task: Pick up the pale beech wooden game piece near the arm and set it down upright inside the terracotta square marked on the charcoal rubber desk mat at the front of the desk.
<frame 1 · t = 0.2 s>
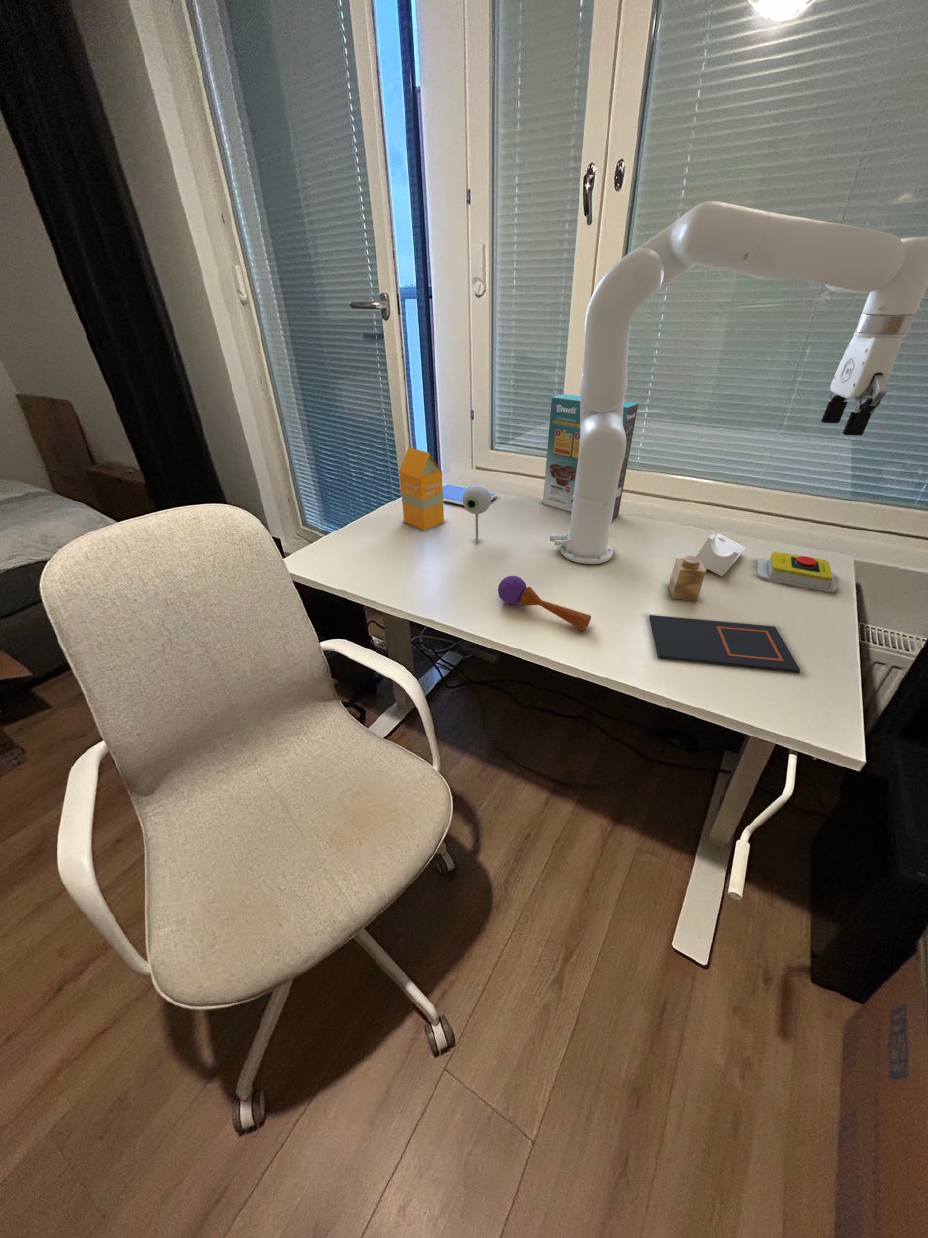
hand: (840, 428, 94), 31 cm above the table, tool pointing down, fingers open, 9 cm apart
desk mat: (718, 642, 89), on the table
tablet: (461, 498, 151), on the table
kendama: (540, 614, 98), on the table
piece: (682, 593, 103), on the table
orange juice: (424, 522, 136), on the table
emergency button: (793, 576, 109), on the table
bracket: (718, 563, 114), on the table
eyeball on stand: (476, 542, 126), on the table
cake mix box: (579, 510, 142), on the table
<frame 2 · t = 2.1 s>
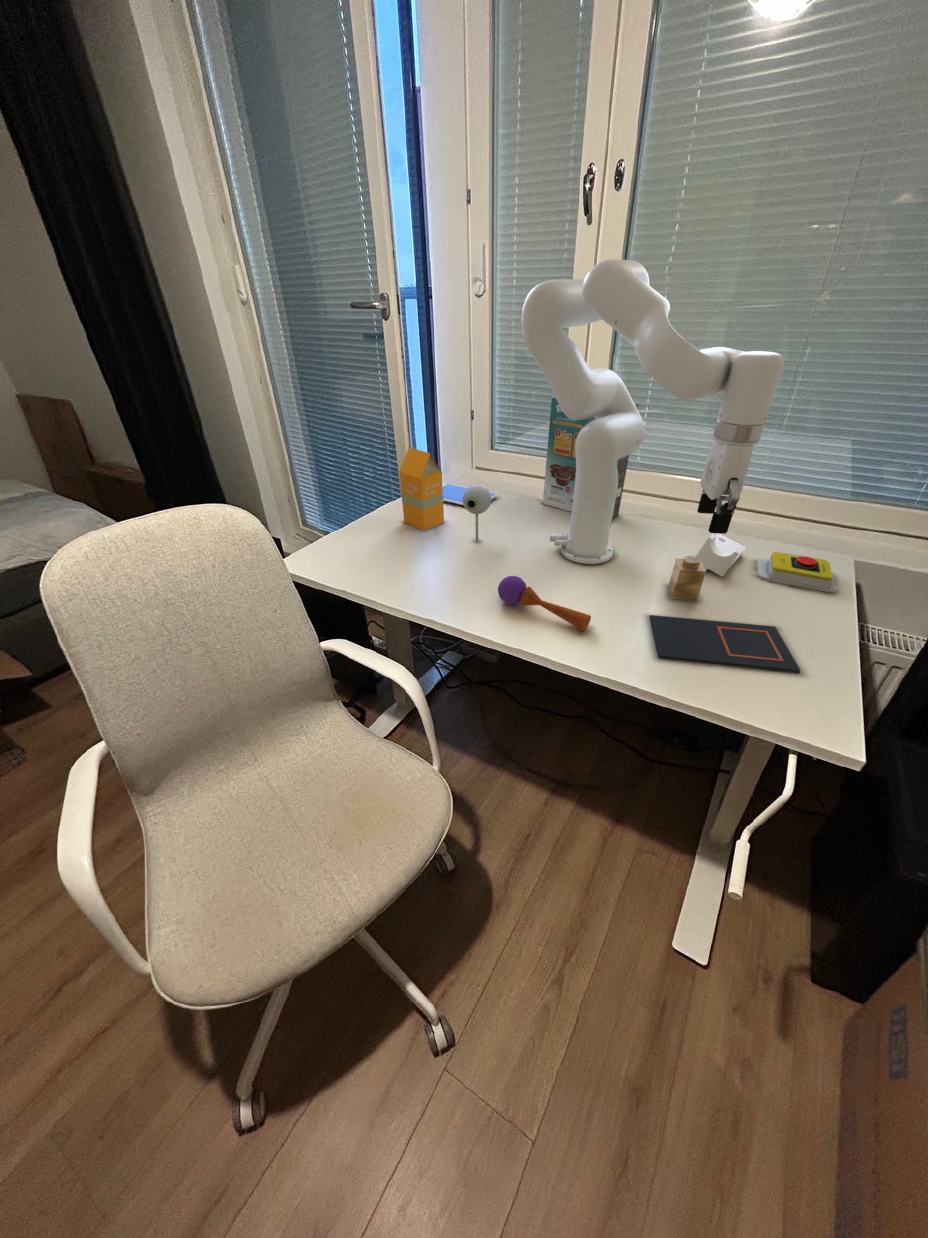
hand: (711, 522, 94), 16 cm above the table, tool pointing down, fingers open, 9 cm apart
nothing on the table moved.
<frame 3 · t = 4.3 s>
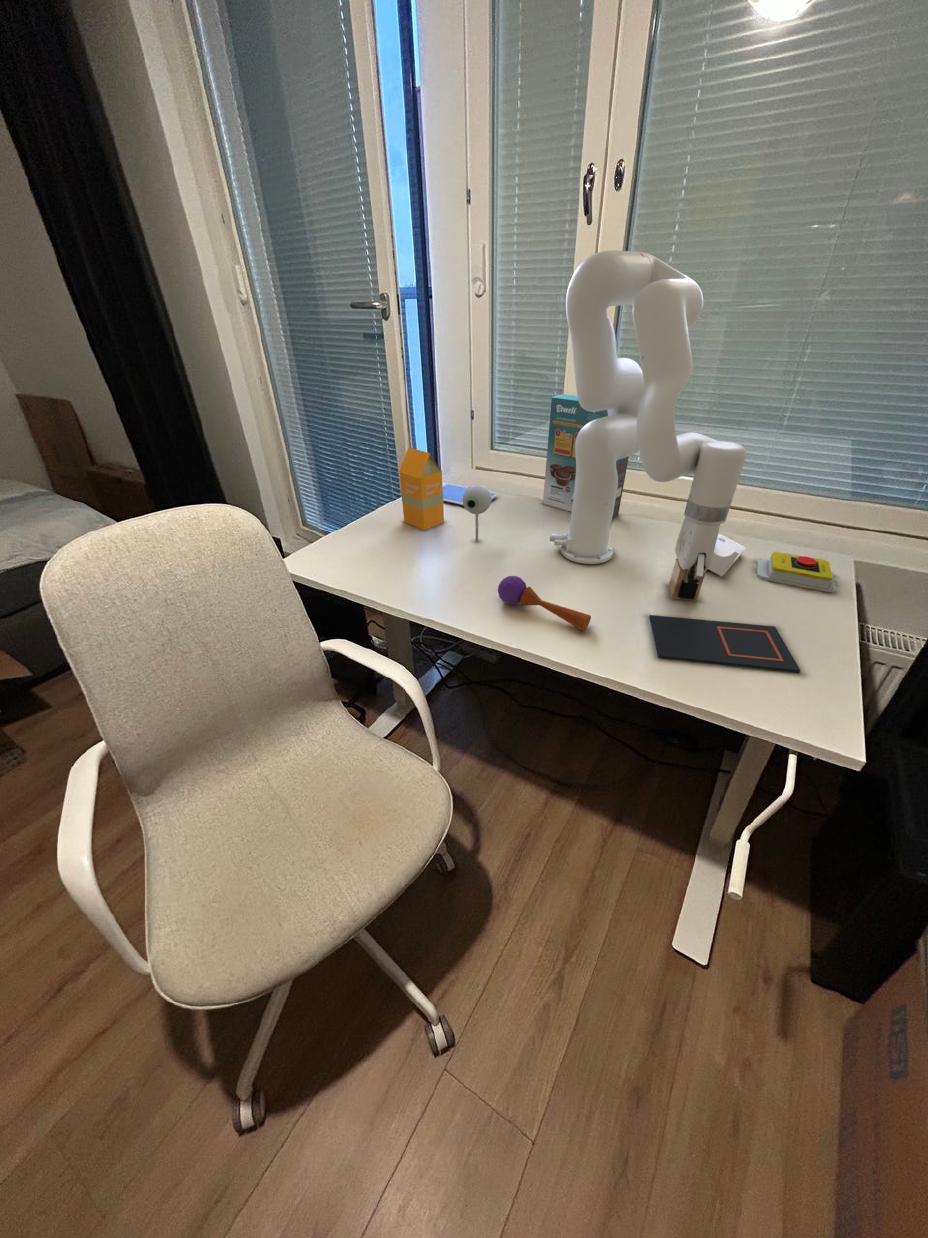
hand: (683, 589, 103), 1 cm above the table, tool pointing down, fingers closed on piece, 5 cm apart
piece: (682, 593, 103), on the table, touching gripper
everything else where it was.
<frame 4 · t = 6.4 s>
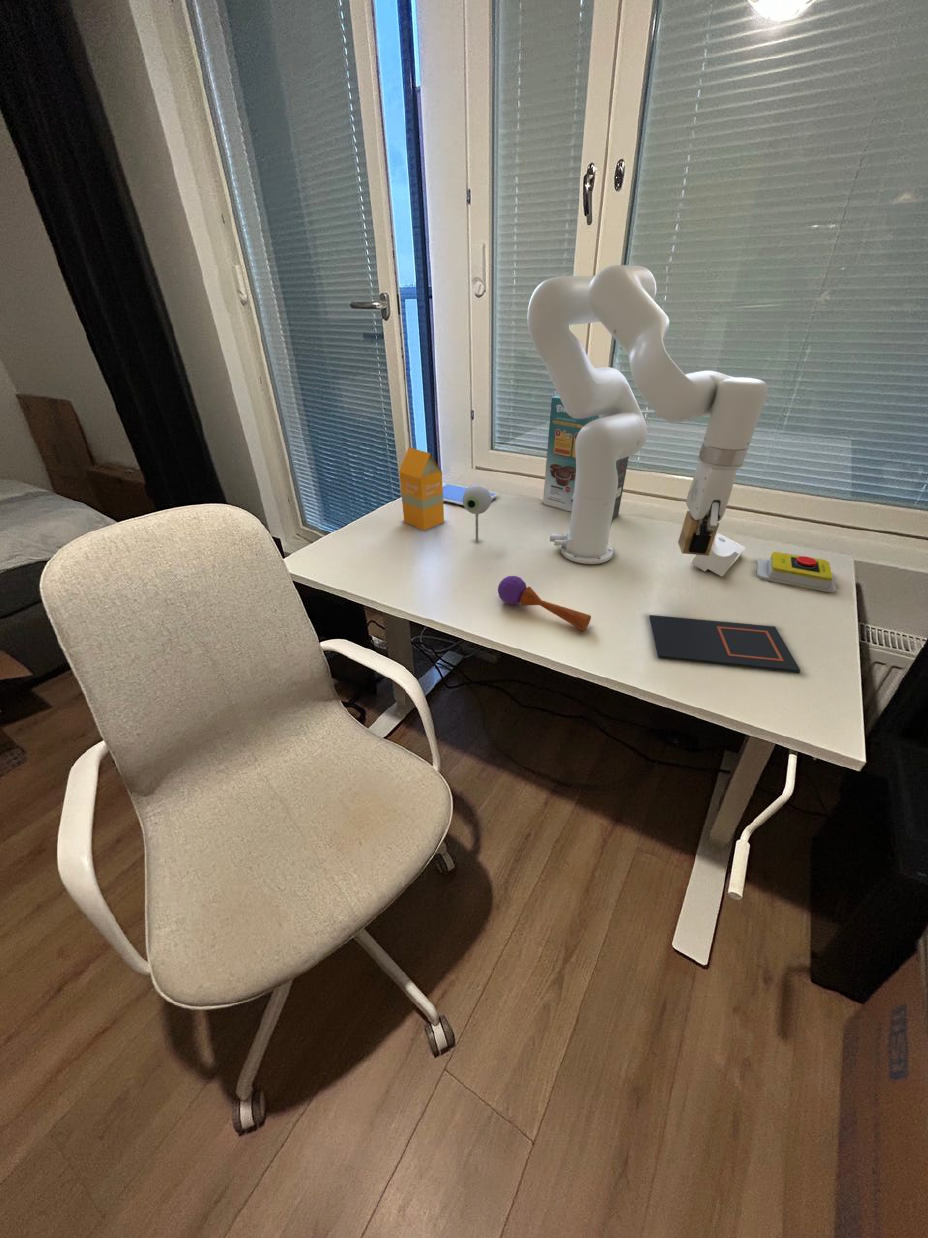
hand: (694, 544, 97), 11 cm above the table, tool pointing down, fingers closed on piece, 5 cm apart
piece: (692, 548, 97), point 10 cm above the table, touching gripper
everything else where it was.
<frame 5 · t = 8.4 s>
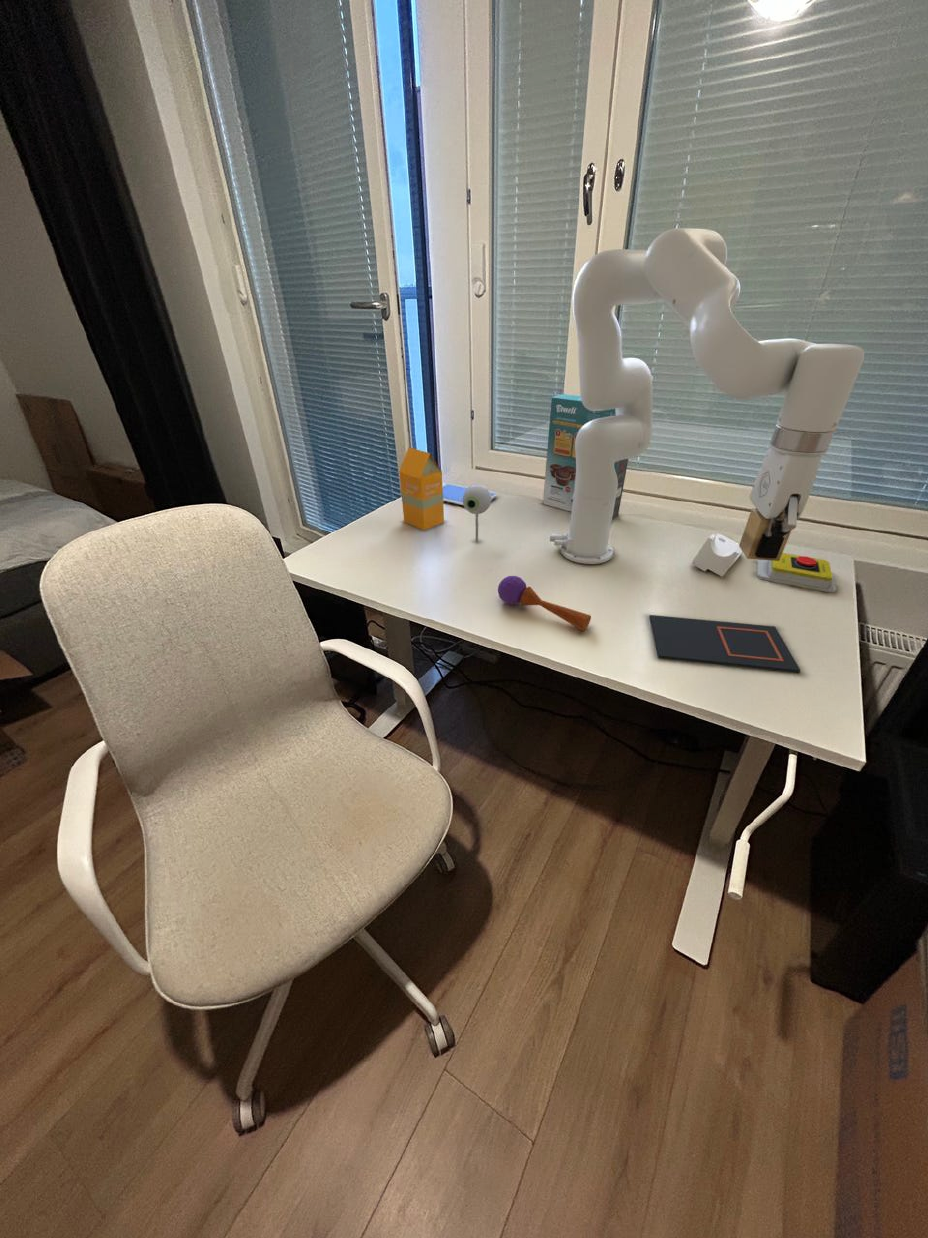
hand: (760, 548, 82), 18 cm above the table, tool pointing down, fingers closed on piece, 5 cm apart
piece: (758, 553, 82), point 17 cm above the table, touching gripper
everything else where it was.
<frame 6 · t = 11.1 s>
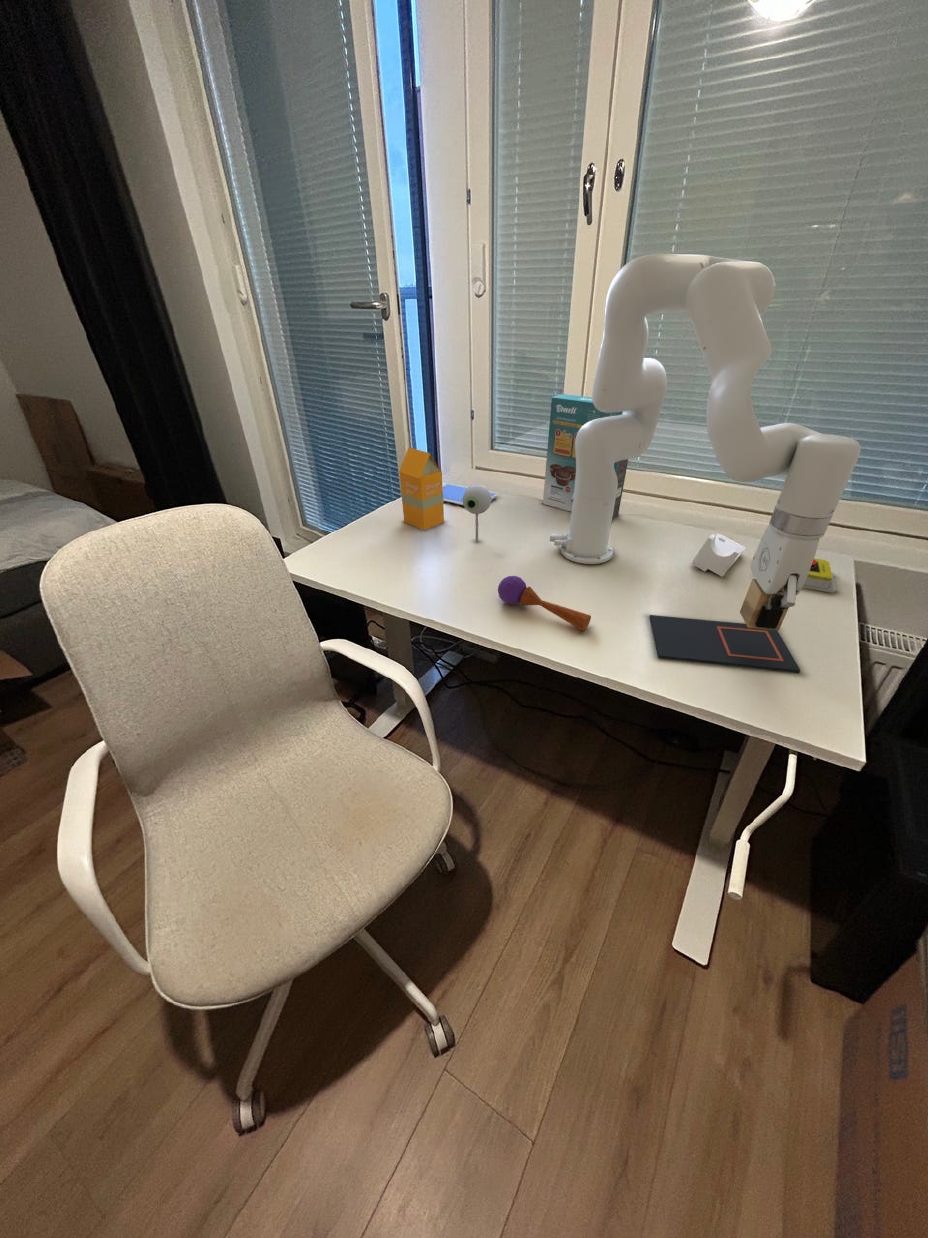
hand: (760, 616, 84), 7 cm above the table, tool pointing down, fingers closed on piece, 5 cm apart
piece: (758, 620, 85), point 6 cm above the table, touching gripper
everything else where it was.
when the fingers open (2 cm above the table, at t = 12.8 s): piece stays where it is, resting on desk mat.
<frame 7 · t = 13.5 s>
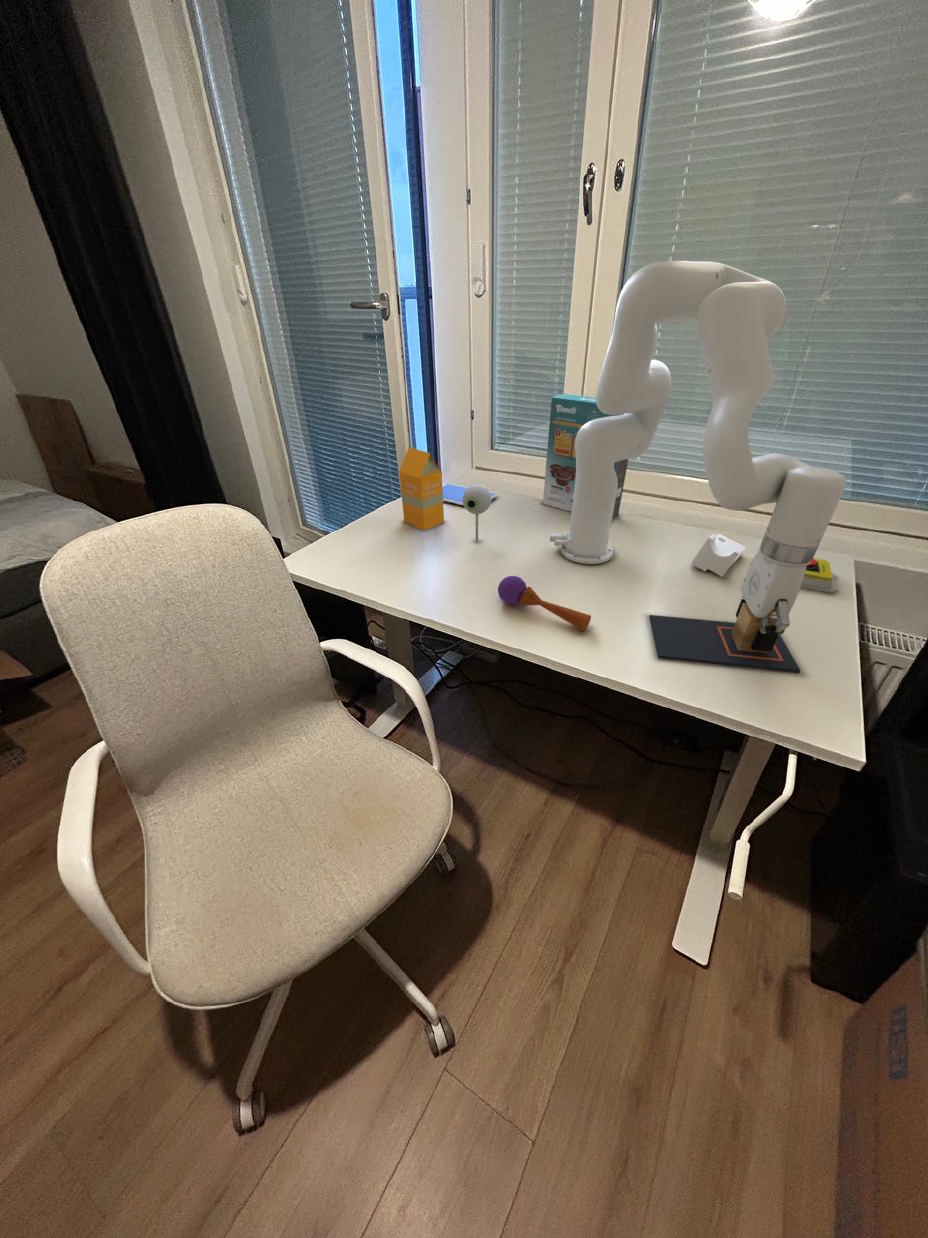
hand: (752, 633, 86), 3 cm above the table, tool pointing down, fingers open, 9 cm apart
piece: (749, 643, 88), point 1 cm above the table, touching desk mat
everything else where it was.
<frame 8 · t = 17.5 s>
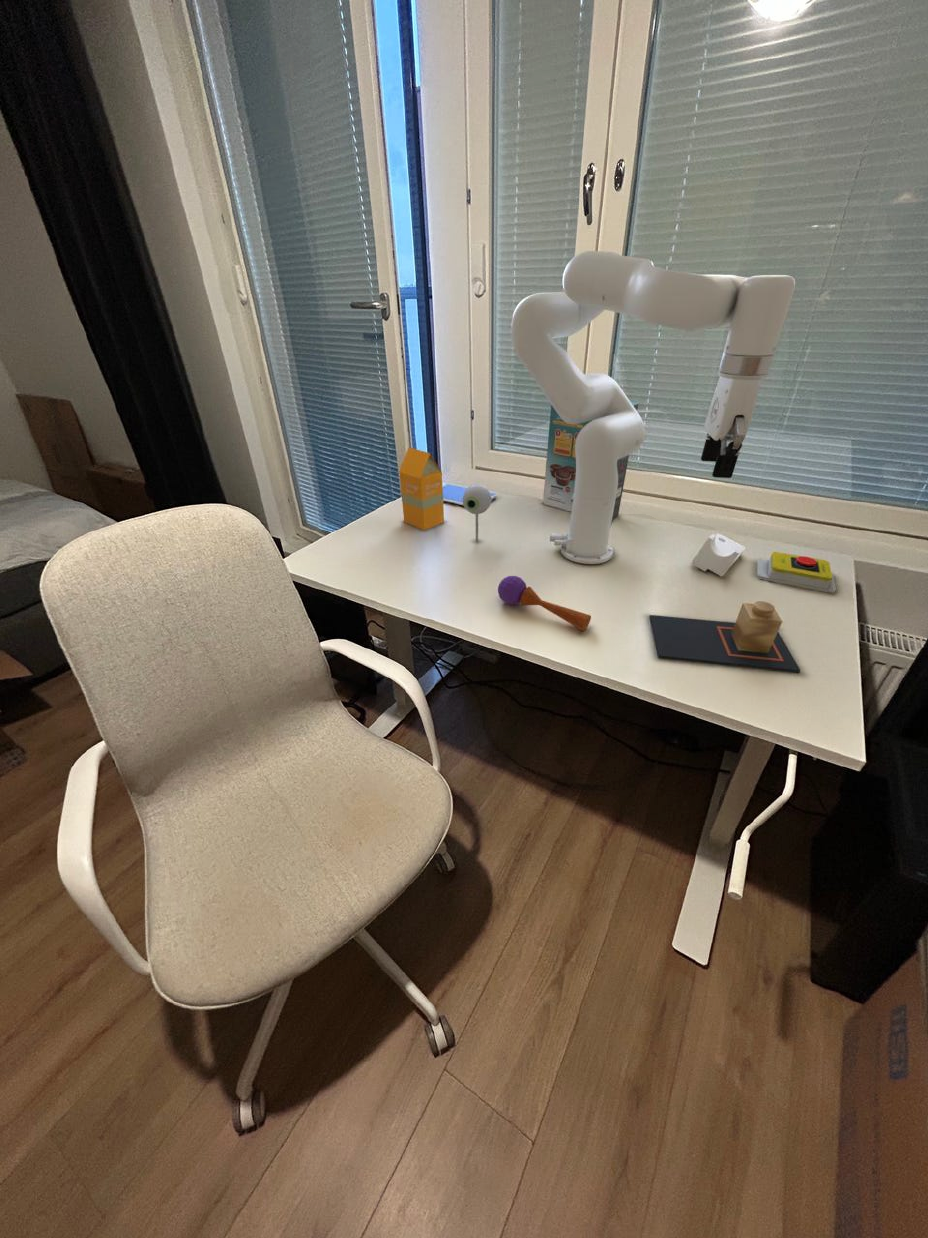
hand: (715, 468, 90), 26 cm above the table, tool pointing down, fingers open, 9 cm apart
nothing on the table moved.
at the end: piece 0.1 cm from the target spot on the desk mat, point 0.6 cm above the desk mat's base; piece tilted 0°; the gripper is holding nothing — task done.
